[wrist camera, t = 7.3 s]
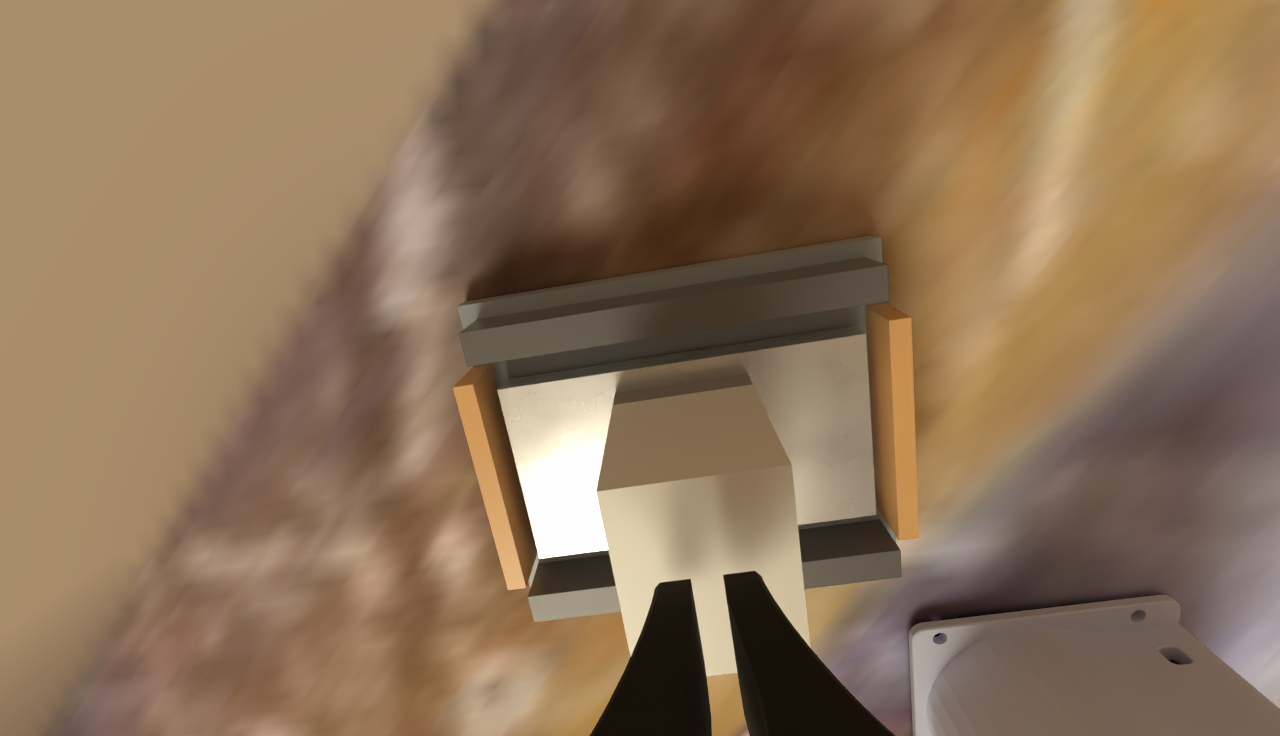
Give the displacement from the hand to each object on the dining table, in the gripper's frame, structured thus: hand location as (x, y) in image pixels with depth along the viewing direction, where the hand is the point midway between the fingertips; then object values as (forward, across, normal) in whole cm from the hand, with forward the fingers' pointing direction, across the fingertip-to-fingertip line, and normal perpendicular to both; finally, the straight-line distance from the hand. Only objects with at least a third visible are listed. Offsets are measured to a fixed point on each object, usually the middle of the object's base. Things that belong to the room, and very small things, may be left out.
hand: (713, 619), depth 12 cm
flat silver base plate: (+8, 0, 0) cm, 8 cm away
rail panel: (+9, 0, 0) cm, 9 cm away
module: (+7, 0, 0) cm, 7 cm away
